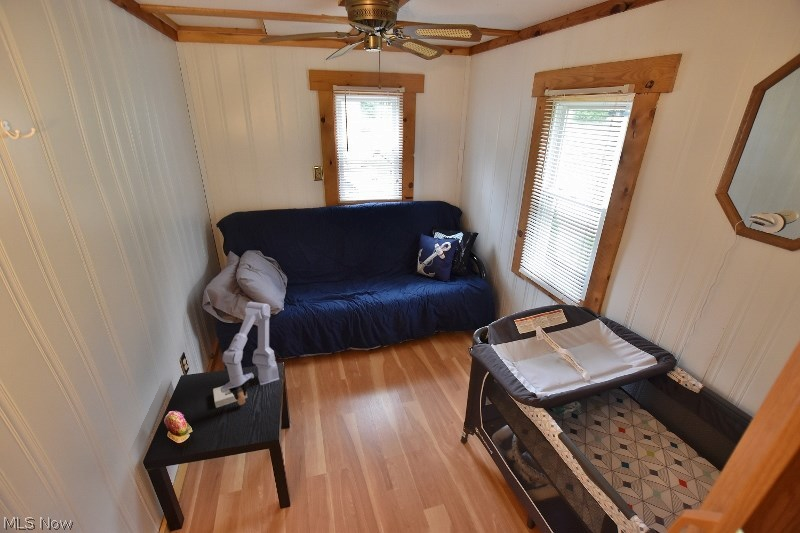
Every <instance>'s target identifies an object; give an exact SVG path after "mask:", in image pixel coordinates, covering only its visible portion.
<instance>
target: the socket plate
mask: <svg viewBox="0 0 800 533" xmlns="http://www.w3.org/2000/svg"><path fill="white" fill-rule="evenodd" d="M223 386H224V385H222V386H219V387H215V388H212V389H213V390H212V392H213V399H214V405H215V408H216V409H217V408H219V407H224V406H225V405H226V406H227V405H230V404H233V403H236V402H238V400H236V399H235V397H234V395H233V393H231V392H230V390H229V389H228V390H226V391H225V392H224V393H222V392H221V389H220V388H221V387H223ZM244 397H245V399H247V398H248V392H246V396H244Z"/></svg>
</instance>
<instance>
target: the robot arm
mask: <svg viewBox="0 0 800 533" xmlns="http://www.w3.org/2000/svg"><path fill="white" fill-rule="evenodd" d="M246 303H247V304H246V305H245V308H244V315H245V316H244V318H243V321H242V324H241V326H240V329H239V332H238V333H236V334H234V337H233V339H232V340H231V343H230V345H229V347H228V349H226V350H225V351H224V352H223V353H222V359H221V360H222V362H223V363H224V364H225V366H226V370H227V372H228V373H227V374H228V378H229V381H228V382H227V383H225V385H222V386H223V387H221V386H220V387H221V388H220V389H221V392H222V393H224V392H225V391H226V390H228V389H229V390H230V392H231V393H233V395H234V397H235V399H236V400H238V396H237V390H236V389H235V387H238V386H240V385H242V386H243V392H244V396H246V392H247V391H248V388H249V385H250V382H249V380H250V379H254V378H255V376H254V374H253V372H249V373H246V374H244V373H243V372H244V371H243V368H242V367H243V366H242V362H241V361H242V360H243V354H244V351H243V350H244V347H245V346H246V343H247V341H248V334H249V332H250V330H251V329H252V327H253V325H254V323H255V321H257V348H256V349H254V351H253V356H252V361H251V362H252V363H253V365H255V366H256V368H257V371H258V375H257V379H258V382H259V384H260V386H264V385H266V384H269V383H272V382H276V381H279V380H280V376H279V369H278V365H277V361H276V357H275V351H274V350H273V349H272V348H271V347H270V318H271V305H270V304H269V303H263V302H255V301H249V302H246ZM231 393H230V394H231ZM247 393H248V392H247Z"/></svg>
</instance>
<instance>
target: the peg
mask: <svg viewBox="0 0 800 533" xmlns="http://www.w3.org/2000/svg"><path fill="white" fill-rule="evenodd" d="M235 389H236V390H237V396H238V401H237V404H238V405H240V406H242V405H244V404H245V403H246V398H245V397H244V392H243V386H242V385H240V386H238V387H235Z"/></svg>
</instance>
